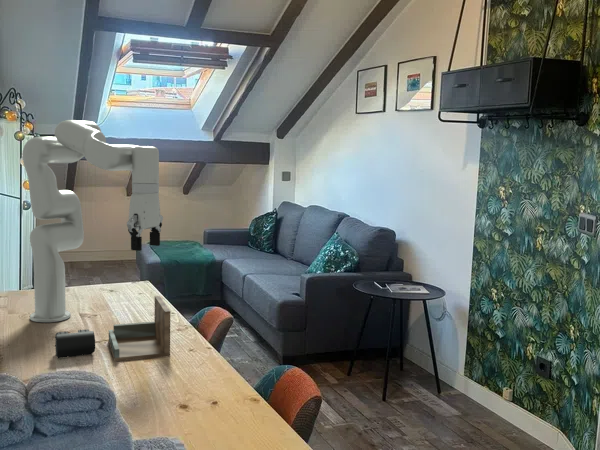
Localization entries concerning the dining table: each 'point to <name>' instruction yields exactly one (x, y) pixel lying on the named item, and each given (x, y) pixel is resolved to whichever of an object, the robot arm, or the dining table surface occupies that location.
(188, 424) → the dining table surface
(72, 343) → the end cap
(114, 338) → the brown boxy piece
